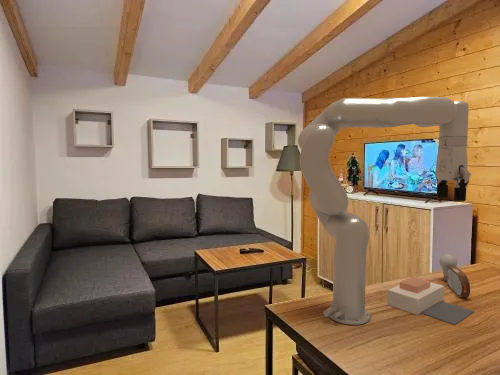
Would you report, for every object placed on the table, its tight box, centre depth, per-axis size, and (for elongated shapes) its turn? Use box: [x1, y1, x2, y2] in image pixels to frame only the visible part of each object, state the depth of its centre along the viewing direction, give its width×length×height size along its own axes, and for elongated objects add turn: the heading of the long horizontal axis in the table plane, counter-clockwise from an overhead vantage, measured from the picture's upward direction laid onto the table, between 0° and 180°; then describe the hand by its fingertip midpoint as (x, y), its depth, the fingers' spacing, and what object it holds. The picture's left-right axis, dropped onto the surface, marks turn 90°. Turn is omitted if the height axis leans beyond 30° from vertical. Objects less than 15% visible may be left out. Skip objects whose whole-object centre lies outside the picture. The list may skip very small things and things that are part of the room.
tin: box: [446, 266, 471, 299], centre depth 125 cm, size 15×3×8 cm, turn 168°
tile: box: [398, 276, 432, 293], centre depth 117 cm, size 9×6×2 cm, turn 128°
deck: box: [387, 282, 445, 316], centre depth 117 cm, size 18×10×5 cm, turn 128°
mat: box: [420, 300, 475, 326], centre depth 109 cm, size 14×10×1 cm
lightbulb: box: [438, 253, 458, 283], centre depth 136 cm, size 6×6×11 cm
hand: (450, 199), depth 107 cm, fingers open, 9 cm apart
